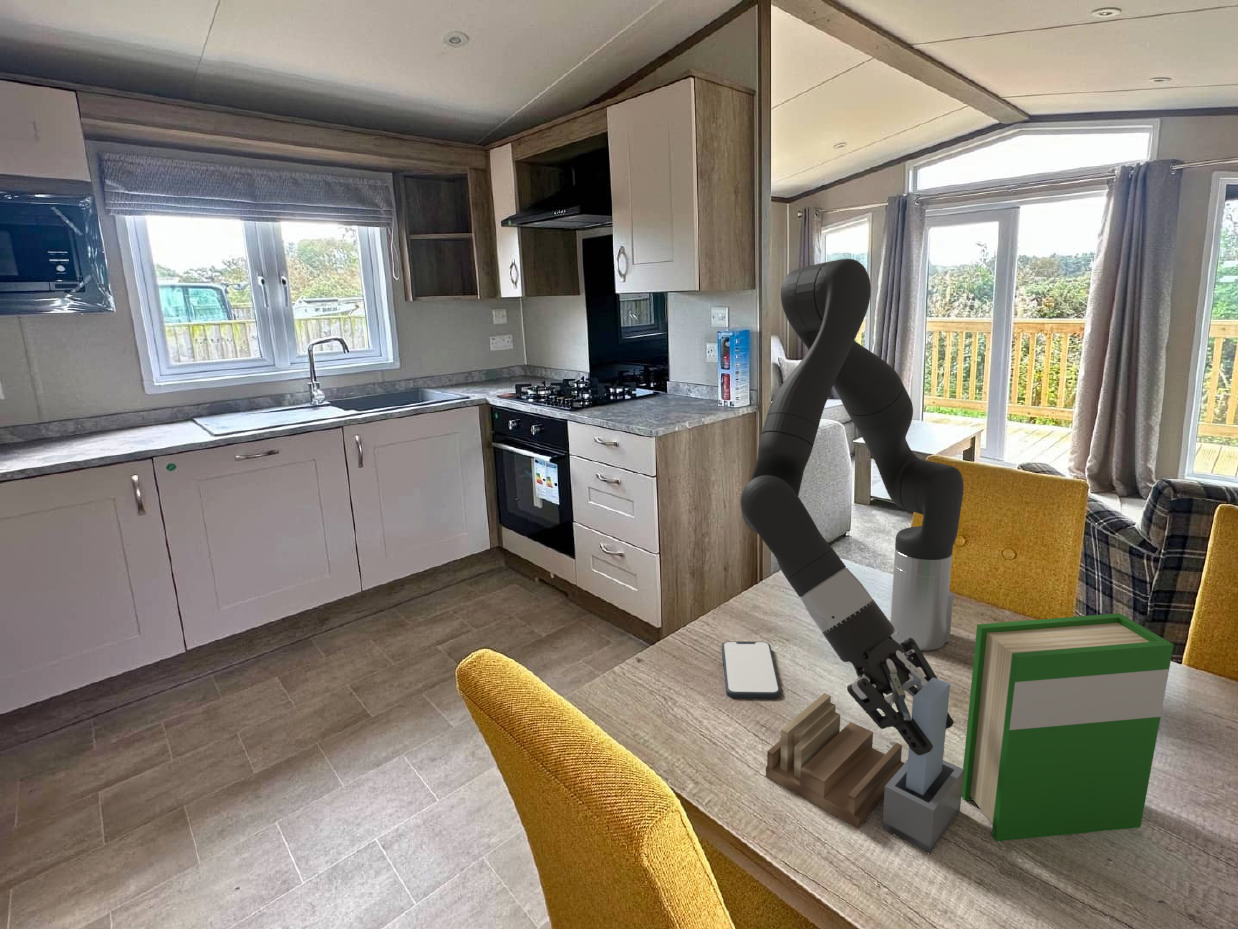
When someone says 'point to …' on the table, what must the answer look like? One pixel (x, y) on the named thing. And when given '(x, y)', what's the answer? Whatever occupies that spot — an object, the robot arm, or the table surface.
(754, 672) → the notched smartphone
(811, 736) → the offcut stack
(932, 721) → the blue-grey rectangular block
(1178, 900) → the table surface
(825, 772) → the rack
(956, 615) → the table surface
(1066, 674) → the hardback book
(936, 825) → the bin
